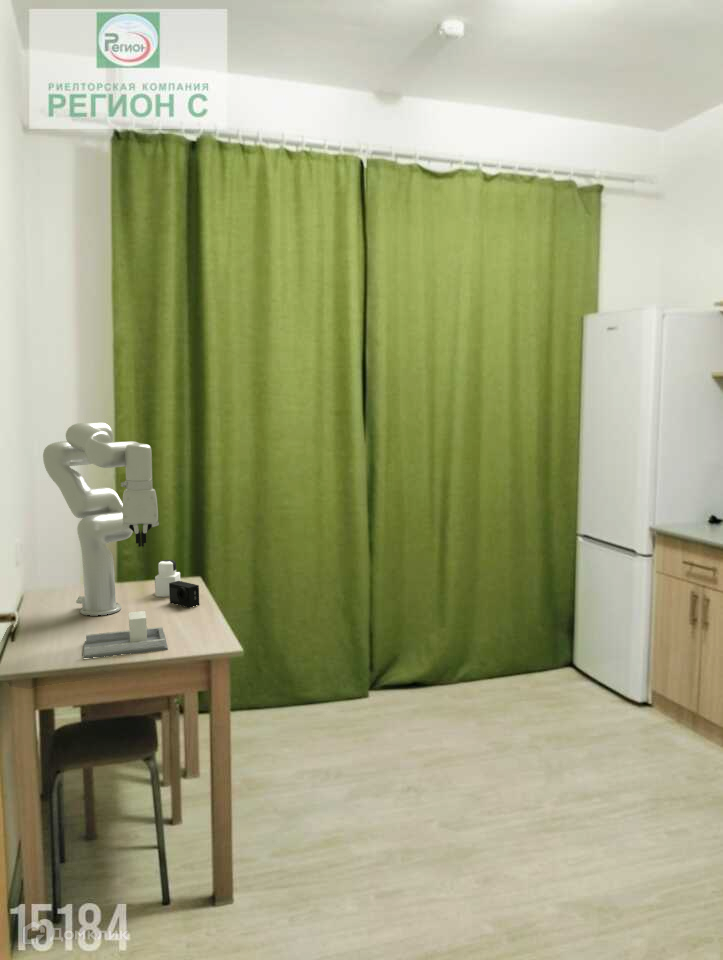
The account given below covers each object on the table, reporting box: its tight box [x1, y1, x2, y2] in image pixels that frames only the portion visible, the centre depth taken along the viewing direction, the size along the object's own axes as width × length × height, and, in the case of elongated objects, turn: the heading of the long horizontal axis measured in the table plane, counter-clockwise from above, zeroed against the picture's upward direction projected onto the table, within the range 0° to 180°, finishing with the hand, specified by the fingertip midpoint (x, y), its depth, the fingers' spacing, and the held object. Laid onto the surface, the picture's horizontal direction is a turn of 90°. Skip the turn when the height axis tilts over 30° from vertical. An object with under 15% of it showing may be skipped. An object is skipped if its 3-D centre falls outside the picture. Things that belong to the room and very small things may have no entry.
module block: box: [128, 610, 148, 642], centre depth 213 cm, size 4×7×8 cm, turn 18°
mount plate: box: [82, 633, 169, 659], centre depth 212 cm, size 22×14×1 cm, turn 108°
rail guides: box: [85, 626, 166, 656], centre depth 212 cm, size 21×12×2 cm, turn 108°
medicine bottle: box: [154, 559, 181, 598], centre depth 266 cm, size 7×7×12 cm
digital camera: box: [169, 580, 200, 608], centre depth 253 cm, size 10×5×7 cm, turn 52°
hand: (141, 545), depth 227 cm, fingers closed
